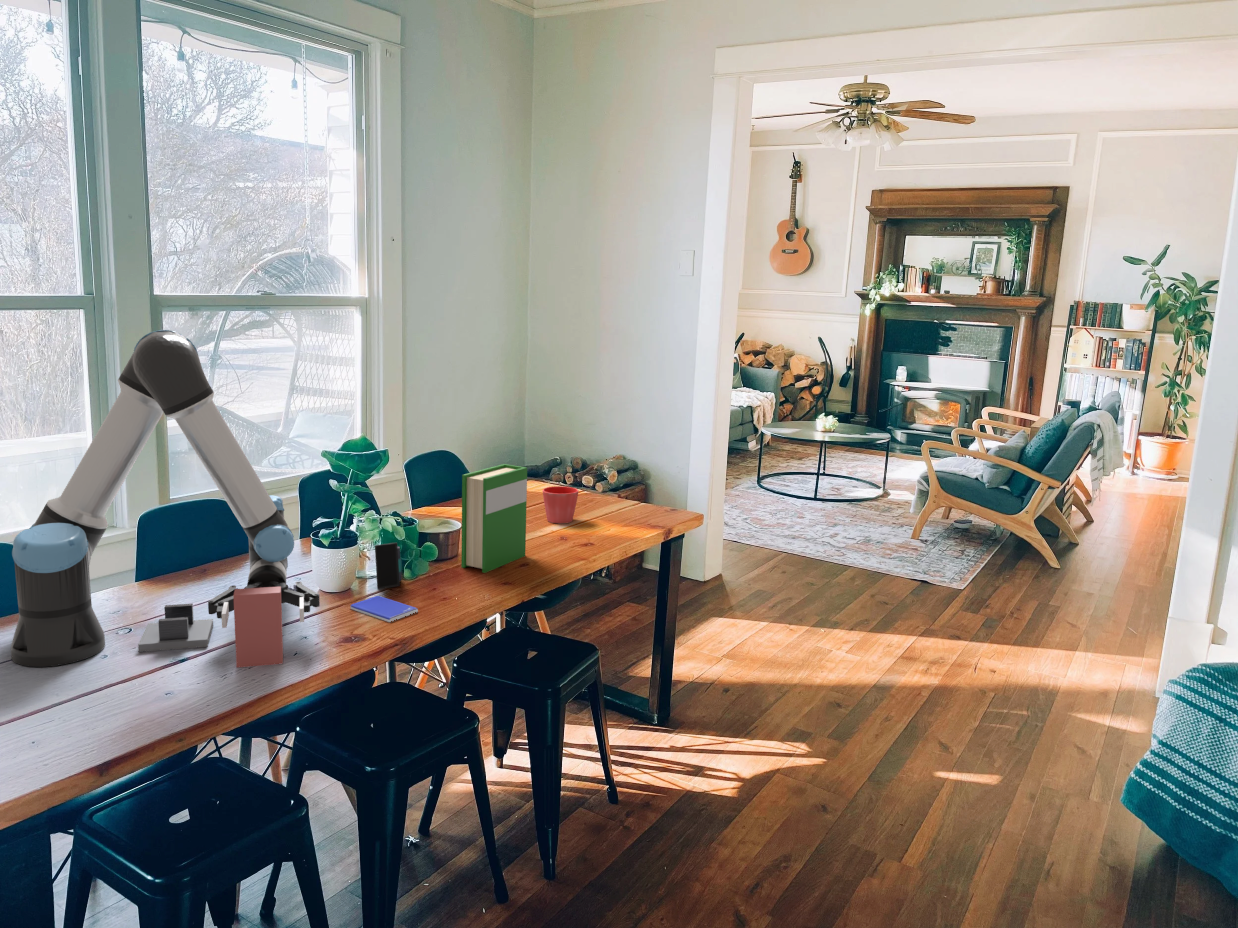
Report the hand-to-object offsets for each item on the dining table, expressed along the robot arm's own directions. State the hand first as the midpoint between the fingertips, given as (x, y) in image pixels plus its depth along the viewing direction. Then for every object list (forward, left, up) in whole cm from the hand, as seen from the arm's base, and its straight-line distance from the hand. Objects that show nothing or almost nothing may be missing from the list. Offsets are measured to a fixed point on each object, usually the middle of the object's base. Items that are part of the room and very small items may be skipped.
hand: (263, 618), depth 172 cm
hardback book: (+53, +52, -8) cm, 75 cm away
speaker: (+25, +40, -8) cm, 48 cm away
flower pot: (+80, +89, -8) cm, 120 cm away
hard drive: (+23, +22, -9) cm, 33 cm away
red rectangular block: (-1, -1, -8) cm, 8 cm away
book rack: (-17, +14, -8) cm, 23 cm away
